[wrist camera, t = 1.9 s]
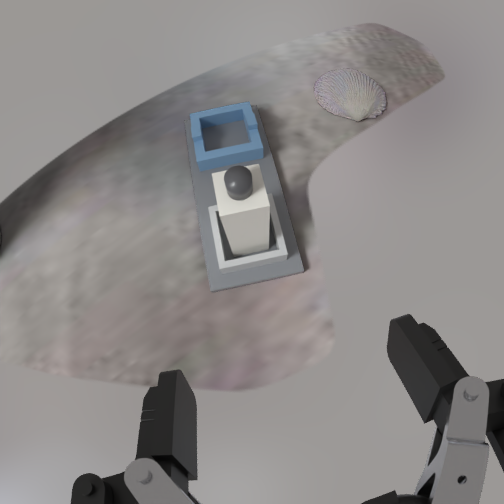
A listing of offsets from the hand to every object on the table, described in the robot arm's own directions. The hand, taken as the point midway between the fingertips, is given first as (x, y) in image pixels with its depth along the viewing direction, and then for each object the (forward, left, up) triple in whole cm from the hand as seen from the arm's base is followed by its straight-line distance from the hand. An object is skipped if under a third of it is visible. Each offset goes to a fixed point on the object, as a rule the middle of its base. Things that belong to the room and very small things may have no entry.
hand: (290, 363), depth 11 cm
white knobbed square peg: (+7, +9, -17) cm, 21 cm away
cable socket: (+11, +13, -18) cm, 25 cm away
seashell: (+31, +10, -19) cm, 38 cm away
